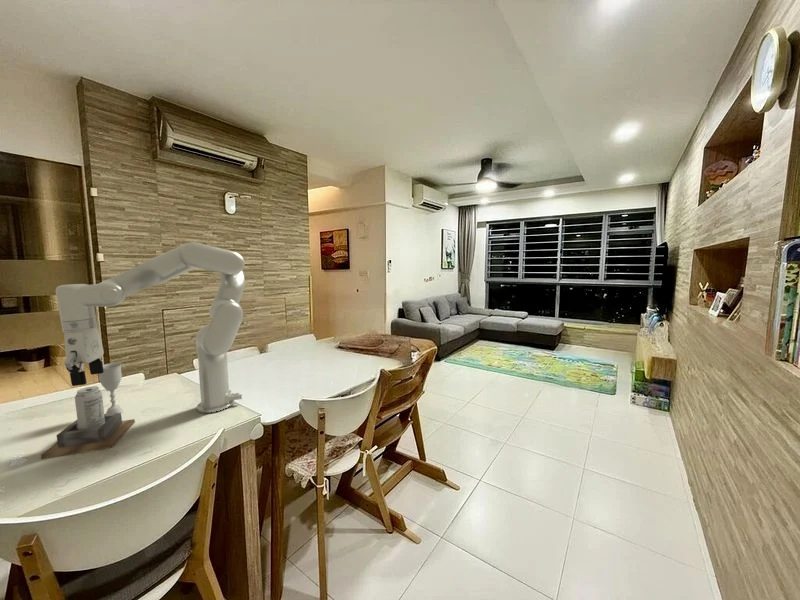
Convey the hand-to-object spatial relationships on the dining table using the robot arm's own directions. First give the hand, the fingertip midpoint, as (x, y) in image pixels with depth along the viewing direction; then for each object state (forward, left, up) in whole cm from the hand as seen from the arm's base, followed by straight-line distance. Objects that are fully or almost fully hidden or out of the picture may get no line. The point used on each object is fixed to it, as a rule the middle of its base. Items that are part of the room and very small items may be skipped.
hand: (88, 379), depth 99 cm
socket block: (+1, 0, -19) cm, 19 cm away
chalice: (+3, -19, -20) cm, 27 cm away
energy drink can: (0, 0, -18) cm, 18 cm away
